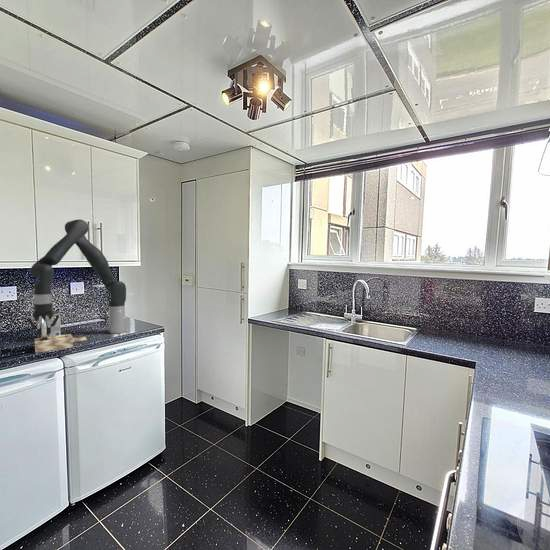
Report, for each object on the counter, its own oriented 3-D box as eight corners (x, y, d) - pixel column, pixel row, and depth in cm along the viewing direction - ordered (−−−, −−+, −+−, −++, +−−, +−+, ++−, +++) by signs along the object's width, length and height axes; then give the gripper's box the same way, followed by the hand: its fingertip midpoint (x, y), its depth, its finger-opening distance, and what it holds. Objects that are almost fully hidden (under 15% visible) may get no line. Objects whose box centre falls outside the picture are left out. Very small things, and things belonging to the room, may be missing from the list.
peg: (47, 339, 160) (47, 317, 160) (48, 340, 158) (47, 318, 157) (40, 340, 158) (39, 318, 158) (40, 341, 156) (40, 319, 155)
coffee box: (40, 338, 176) (39, 311, 175) (53, 336, 182) (52, 309, 181) (49, 341, 172) (48, 313, 171) (61, 338, 178) (60, 311, 177)
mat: (85, 337, 181) (85, 336, 181) (87, 340, 176) (87, 339, 176) (69, 339, 176) (69, 338, 176) (70, 342, 170) (70, 341, 170)
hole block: (70, 342, 170) (70, 333, 170) (73, 346, 162) (73, 337, 162) (34, 347, 160) (34, 338, 159) (35, 352, 152) (35, 343, 152)
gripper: (58, 300, 164) (59, 331, 165) (25, 302, 155) (26, 335, 156) (60, 302, 159) (61, 334, 160) (25, 304, 149) (26, 338, 151)
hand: (44, 334), depth 158 cm, fingers closed on peg, 3 cm apart
